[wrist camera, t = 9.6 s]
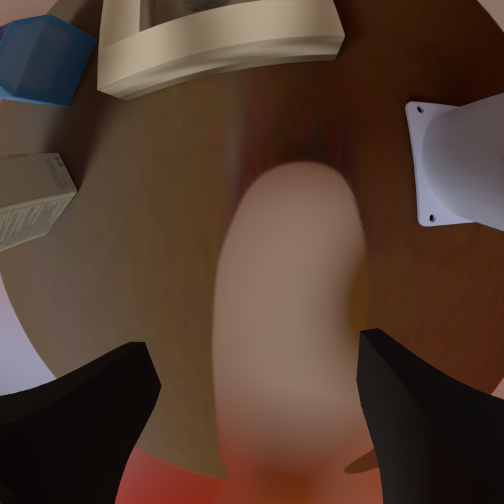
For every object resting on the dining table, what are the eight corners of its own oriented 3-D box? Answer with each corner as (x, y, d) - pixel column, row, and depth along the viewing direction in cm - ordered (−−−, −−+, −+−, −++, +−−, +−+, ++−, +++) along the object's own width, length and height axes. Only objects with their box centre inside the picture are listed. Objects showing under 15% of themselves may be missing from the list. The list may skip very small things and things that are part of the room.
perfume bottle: (69, 107, 16) (-52, 90, 4) (32, 102, 16) (-68, 94, 4) (97, 39, 14) (-6, -10, 3) (56, 43, 14) (-35, 14, 3)
